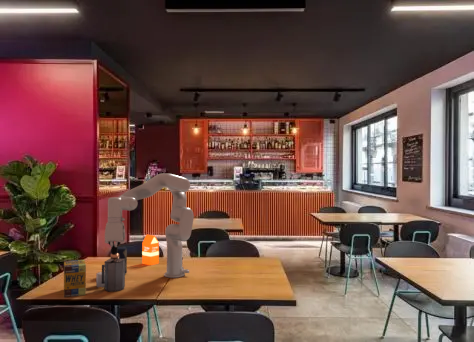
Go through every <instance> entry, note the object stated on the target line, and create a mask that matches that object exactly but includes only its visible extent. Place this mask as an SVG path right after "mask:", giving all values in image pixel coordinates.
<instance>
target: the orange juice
mask: <svg viewBox="0 0 474 342" xmlns="http://www.w3.org/2000/svg"><path fill="white" fill-rule="evenodd" d="M141 244H142V248H141V250H142V251H141V254H142V255H141V257H142V258H141V264H143V265H147V266H153V265H154V266H155V265H158V264H159V263H160V261H159V260H160V241H158V239H157V236H156V235H153V234H146V235H145V237H144V239H143V240H142V243H141Z"/></svg>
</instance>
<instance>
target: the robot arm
mask: <svg viewBox="0 0 474 342" xmlns="http://www.w3.org/2000/svg"><path fill="white" fill-rule="evenodd" d="M165 188H166V189H167V188H168V190H169V191H170V193H171V195H172V205H171V210H170V211H171V212H170V219H171V220H172V221H173V222H176V223H171V224H169V225H167V226H166V227H165V230H164V235H165V240H166V241H165V242H166V272H164V273H163V276H164V277H165V278H172V279H175V278H181V277H184V276H185V274H189V273H190V269H187V268H184V266H183V243H182V242H186V241H188V240H189V239H190V237H191V235H192V230H193V225H194V218H195V217H194V216H195V215H194V214H195V213H194V211H193V210H192V209H191V208H190V207H187V199H188V197H187V192H188V191H189V190H190V189H191V181H189V180H188V178H186V177H183V176H179V175H176V174H174V173H173V174H172V173H166V172H165V173H159V174H156V175H155V176H152V178H150V179H148V180H147V181H145V182H144V183H142V184H140V185H138V186H136V187H134V188H132V189H128V190H127V191H125V192H124V193H122V194H121V195H119V196H118V197H114V196H113V197H109V198H108V200H107V222H106V224H105V227H104V229H105V230H104V244H108V245H109V247H111V249H110V253H111V252H112V255H113V254H114V255H115V254H117V253H118V246H121V244H124V243H126V229H125V228H126V227H125V223H124V222H125V220H126V218H124V217H123V211H134V210H135V209H137V207H138V205H139V204H138V203H139V202H138V201H139V200H142V199H147V198H150V197H153V196H154V195H155V194H156V193H158V192H159V191H161V190H162V189H165ZM123 221H124V222H123Z"/></svg>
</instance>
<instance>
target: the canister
mask: <svg viewBox="0 0 474 342" xmlns="http://www.w3.org/2000/svg"><path fill="white" fill-rule="evenodd" d="M127 251H128V248H127V247H126V246H124V245H123V246H122V245H119V246H118V253H119V259H125V275H126V274H127V272H128V268H127V267H128V262H127V261H128V254H127V253H128V252H127ZM111 254H112V252H111V251H110V255H111Z"/></svg>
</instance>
